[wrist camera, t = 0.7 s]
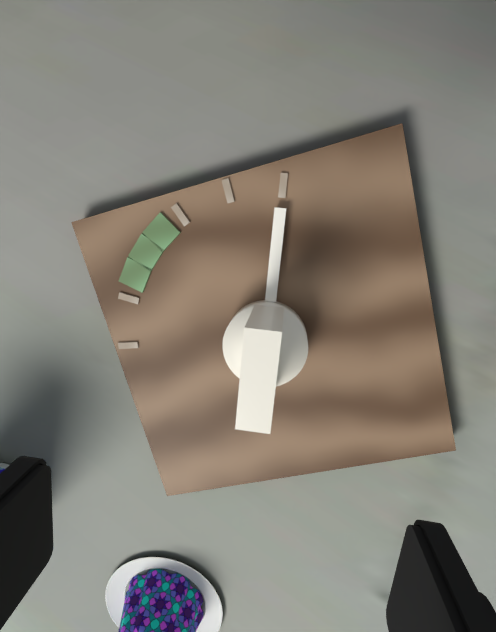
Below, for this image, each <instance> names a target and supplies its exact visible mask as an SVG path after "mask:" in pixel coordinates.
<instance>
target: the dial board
mask: <svg viewBox="0 0 496 632" xmlns="http://www.w3.org/2000/svg"><path fill="white" fill-rule="evenodd" d="M275 207H276V208H286V217H285V226H284V235H283V244H282V253H281V262H280V271H279V280H278V289H277V298H276V301H277V302H280V303H283V304H285V305H287V306H288V307H290V308H291V309H293V310H294V311H295V312H296V313H297V314H298V315H299V317H300V318H301V320H302V322H303V324H304V326H305V329H306V333H307V340H308V355H307V359H306V362H305V364H304V366H303V368H302V369H301V371H300V372H299V373H298V374H297V376H295V377H294V378H293V379H292V380H290V381H289V382H287V383H285V384H283V385H280V386H276V389H275V398H274V406H273V415H272V423H271V432H270V434H265V433H258V432H251V431H244V430H237V429H235V424H236V413H237V402H238V391H239V380H240V379H239V378H238V377H237V376H236V375H235V374H234V373H233V372H232V371H231V370H230V368H229V367H228V365H227V363H226V361H225V358H224V354H223V337H224V333H225V331H226V328H227V327H228V325H229V323H230V322H231V320H232V318H233V317H234V315H235V314H236V313H237V312H238V311H239V310H240V309H241V308H243V307H244V306H246V305H248V304H250V303H252V302H255V301H260V300H265V295H266V286H267V276H268V266H269V256H270V247H271V237H272V227H273V218H274V208H275ZM72 225H73V228H74V231H75V234H76V237H77V240H78V242H79V245H80V248H81V251H82V254H83V257H84V260H85V262H86V265H87V268H88V271H89V274H90V277H91V280H92V282H93V285H94V288H95V291H96V294H97V297H98V299H99V302H100V305H101V308H102V311H103V314H104V317H105V319H106V322H107V325H108V328H109V331H110V334H111V337H112V339H113V342H114V345H115V348H116V351H117V354H118V357H119V359H120V362H121V365H122V368H123V371H124V374H125V377H126V379H127V382H128V385H129V388H130V391H131V394H132V397H133V399H134V402H135V405H136V408H137V411H138V414H139V417H140V419H141V422H142V425H143V428H144V431H145V434H146V437H147V439H148V442H149V445H150V448H151V451H152V454H153V457H154V459H155V462H156V465H157V468H158V471H159V474H160V477H161V479H162V482H163V485H164V488H165V491H166V494H167V496H170V495H176V494H183V493H189V492H195V491H202V490H208V489H214V488H221V487H227V486H233V485H240V484H246V483H252V482H259V481H265V480H271V479H278V478H284V477H290V476H297V475H303V474H309V473H316V472H322V471H328V470H335V469H341V468H347V467H353V466H360V465H366V464H372V463H379V462H385V461H391V460H398V459H404V458H410V457H417V456H423V455H429V454H436V453H442V452H448V451H455V450H456V448H455V442H454V436H453V429H452V423H451V417H450V411H449V405H448V399H447V393H446V387H445V381H444V375H443V368H442V362H441V356H440V350H439V344H438V338H437V332H436V326H435V320H434V314H433V308H432V301H431V295H430V289H429V283H428V277H427V271H426V265H425V259H424V253H423V247H422V240H421V234H420V228H419V222H418V216H417V210H416V204H415V198H414V192H413V186H412V180H411V173H410V167H409V161H408V155H407V149H406V143H405V137H404V131H403V125H402V124H398V125H395V126H392V127H388V128H385V129H382V130H378V131H375V132H372V133H368V134H365V135H362V136H358V137H355V138H352V139H348V140H345V141H342V142H338V143H335V144H332V145H328V146H325V147H322V148H318V149H315V150H311V151H308V152H305V153H301V154H298V155H295V156H291V157H288V158H285V159H281V160H278V161H275V162H271V163H268V164H265V165H261V166H258V167H255V168H251V169H248V170H245V171H241V172H238V173H235V174H231V175H228V176H225V177H221V178H218V179H215V180H211V181H208V182H205V183H201V184H198V185H195V186H191V187H188V188H185V189H181V190H178V191H175V192H171V193H168V194H165V195H161V196H158V197H155V198H151V199H148V200H145V201H141V202H138V203H134V204H131V205H128V206H124V207H121V208H118V209H114V210H111V211H108V212H104V213H101V214H98V215H94V216H91V217H88V218H84V219H81V220H78V221H74V222H72Z"/></svg>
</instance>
